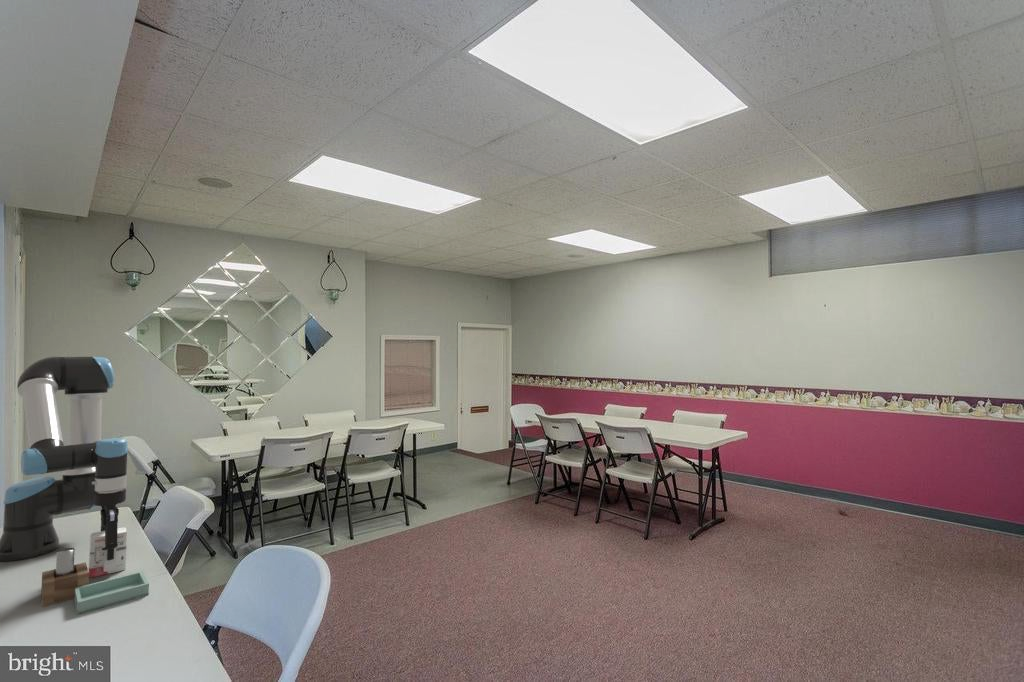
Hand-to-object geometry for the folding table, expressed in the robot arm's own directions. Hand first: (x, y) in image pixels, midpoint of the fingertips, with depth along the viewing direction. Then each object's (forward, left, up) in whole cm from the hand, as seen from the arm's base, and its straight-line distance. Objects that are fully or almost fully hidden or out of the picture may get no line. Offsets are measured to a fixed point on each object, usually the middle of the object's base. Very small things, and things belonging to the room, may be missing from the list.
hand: (107, 565), depth 146 cm
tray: (+20, -1, -2) cm, 21 cm away
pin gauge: (+10, -10, -2) cm, 14 cm away
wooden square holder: (+10, -10, -2) cm, 14 cm away
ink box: (0, 0, -2) cm, 2 cm away
